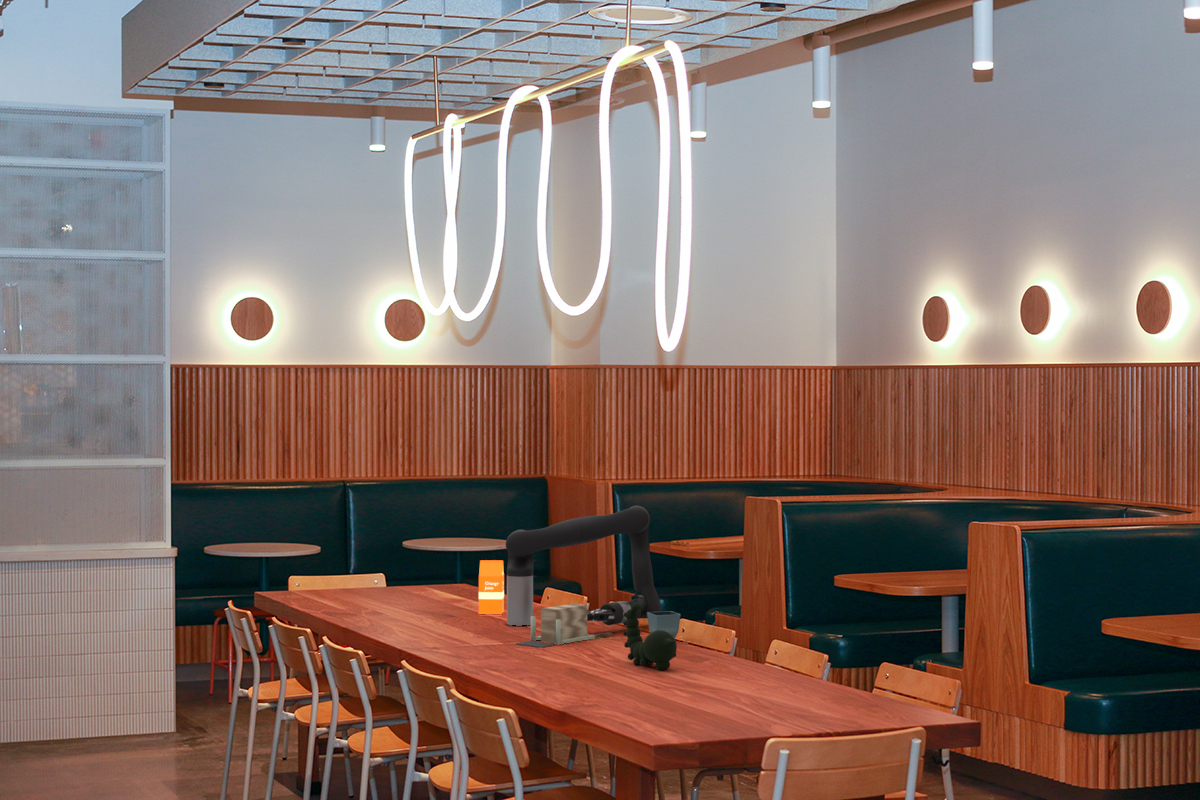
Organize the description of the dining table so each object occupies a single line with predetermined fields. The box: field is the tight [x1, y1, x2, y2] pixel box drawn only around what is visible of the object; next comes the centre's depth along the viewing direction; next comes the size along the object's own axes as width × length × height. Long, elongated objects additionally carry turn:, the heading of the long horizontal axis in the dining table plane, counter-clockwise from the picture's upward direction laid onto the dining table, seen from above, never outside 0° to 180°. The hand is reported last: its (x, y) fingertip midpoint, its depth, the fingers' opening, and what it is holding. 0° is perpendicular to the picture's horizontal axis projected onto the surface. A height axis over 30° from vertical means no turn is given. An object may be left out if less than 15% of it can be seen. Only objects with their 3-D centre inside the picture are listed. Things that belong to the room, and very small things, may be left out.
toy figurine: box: [622, 603, 678, 671], centre depth 397 cm, size 9×19×25 cm
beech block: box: [540, 603, 588, 644], centre depth 447 cm, size 16×6×11 cm, turn 140°
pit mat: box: [515, 640, 557, 648], centre depth 436 cm, size 7×11×1 cm, turn 50°
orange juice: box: [478, 559, 505, 615], centre depth 511 cm, size 8×9×20 cm
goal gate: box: [530, 615, 595, 646], centre depth 446 cm, size 18×13×8 cm
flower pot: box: [647, 610, 681, 640], centre depth 446 cm, size 9×9×9 cm
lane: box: [593, 631, 613, 639], centre depth 456 cm, size 9×13×1 cm
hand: (582, 618), depth 454 cm, fingers closed
